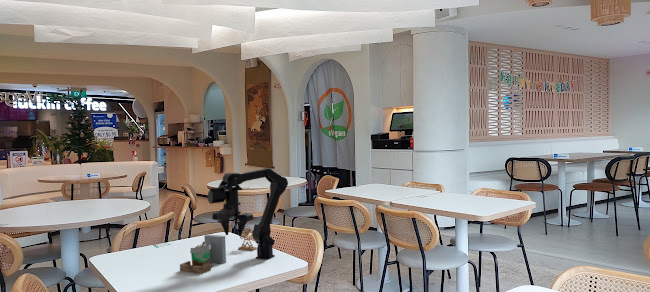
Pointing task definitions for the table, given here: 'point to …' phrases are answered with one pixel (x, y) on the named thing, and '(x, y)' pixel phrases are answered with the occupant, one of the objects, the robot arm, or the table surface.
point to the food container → (201, 254)
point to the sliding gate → (216, 248)
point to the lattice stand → (247, 248)
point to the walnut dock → (194, 268)
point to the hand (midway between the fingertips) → (233, 235)
